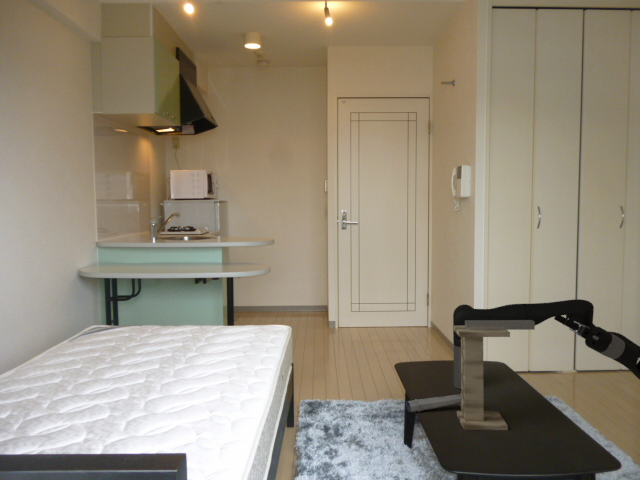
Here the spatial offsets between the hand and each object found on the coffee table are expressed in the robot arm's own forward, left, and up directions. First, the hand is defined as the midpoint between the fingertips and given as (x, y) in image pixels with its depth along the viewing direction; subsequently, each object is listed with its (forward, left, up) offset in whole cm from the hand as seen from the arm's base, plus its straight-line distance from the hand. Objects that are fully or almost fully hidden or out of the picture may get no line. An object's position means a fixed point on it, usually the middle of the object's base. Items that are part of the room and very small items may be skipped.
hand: (560, 319), depth 164 cm
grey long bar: (0, -20, -3) cm, 20 cm away
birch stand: (0, -26, -35) cm, 44 cm away
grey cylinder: (-10, -37, -36) cm, 53 cm away
